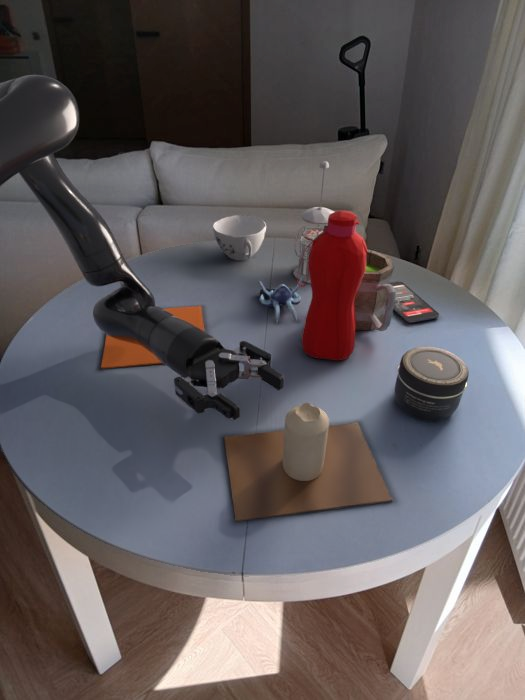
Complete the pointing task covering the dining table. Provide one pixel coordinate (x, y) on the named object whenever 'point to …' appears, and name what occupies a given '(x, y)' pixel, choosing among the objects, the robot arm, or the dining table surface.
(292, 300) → the figurine
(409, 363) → the jar
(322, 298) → the water bottle
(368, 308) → the mug
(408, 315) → the smartphone
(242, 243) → the teacup
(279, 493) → the brown flat board
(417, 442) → the dining table surface
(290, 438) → the candle
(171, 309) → the towel
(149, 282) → the dining table surface
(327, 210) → the french press
